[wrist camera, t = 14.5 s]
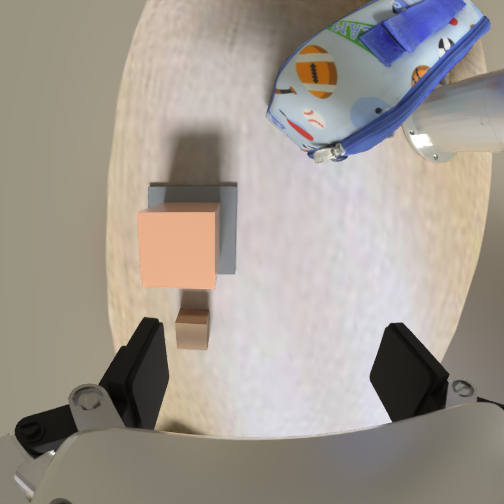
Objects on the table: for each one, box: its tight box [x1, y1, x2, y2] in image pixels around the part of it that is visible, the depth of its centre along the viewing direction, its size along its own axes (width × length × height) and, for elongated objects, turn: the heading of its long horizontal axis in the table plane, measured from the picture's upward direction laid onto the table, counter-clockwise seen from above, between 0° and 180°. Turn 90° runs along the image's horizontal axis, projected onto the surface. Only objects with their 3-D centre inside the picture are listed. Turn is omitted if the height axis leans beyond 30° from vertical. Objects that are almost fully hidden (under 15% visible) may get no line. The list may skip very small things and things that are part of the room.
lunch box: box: [266, 0, 490, 163], centre depth 20 cm, size 28×10×22 cm, turn 137°
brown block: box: [175, 309, 209, 350], centre depth 36 cm, size 4×4×4 cm
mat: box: [148, 186, 237, 274], centre depth 34 cm, size 11×11×1 cm
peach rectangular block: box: [137, 202, 221, 289], centre depth 29 cm, size 7×7×10 cm
